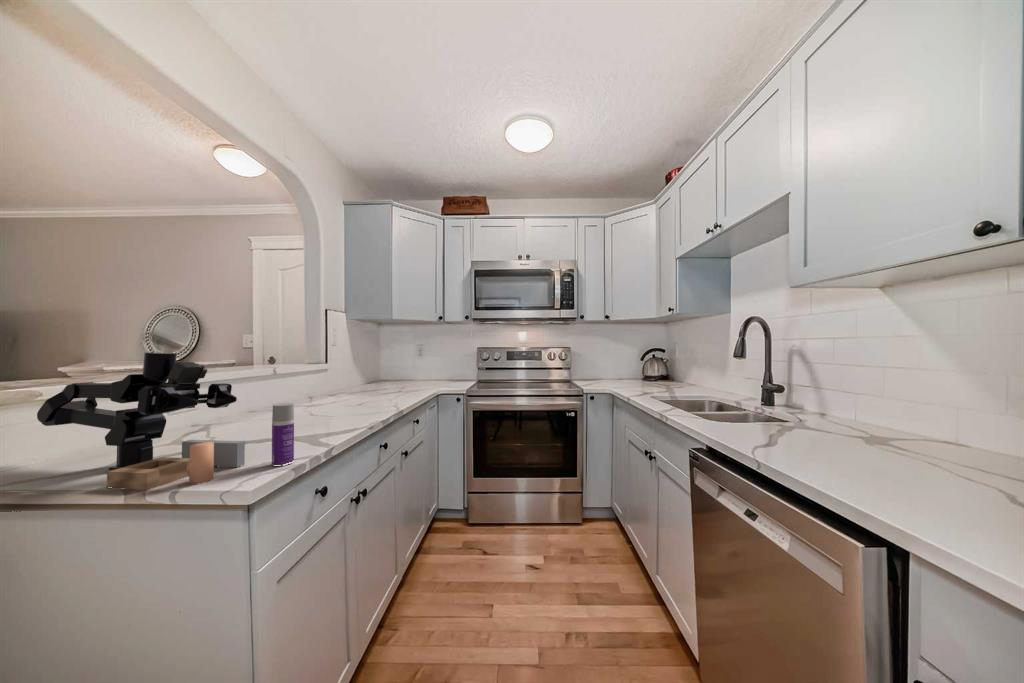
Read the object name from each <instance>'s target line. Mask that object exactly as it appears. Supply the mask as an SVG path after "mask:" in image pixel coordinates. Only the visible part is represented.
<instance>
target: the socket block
mask: <svg viewBox="0 0 1024 683" xmlns="http://www.w3.org/2000/svg"><path fill="white" fill-rule="evenodd" d="M189 463H190V458H182V457H168V456H167V457H166V456H165V457H163V456H160V457H157V458H153V460H149V461H145V462H141V463H138V464H134V465H130V466H126V467H122V468H119V469H115V470H114V469H110V470H109V471H106V488H107V487H112V488H125V489H124V490H130V489H136V490H135V491H148V489H149V490H151V488H152V489H155V488H157V487H162V486H164V485H167V484H169V483H174V482H175V481H179V480H181V478H182V479H184V477H185V478H188V477H189ZM187 476H188V477H187ZM178 479H179V480H178Z"/></svg>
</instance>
